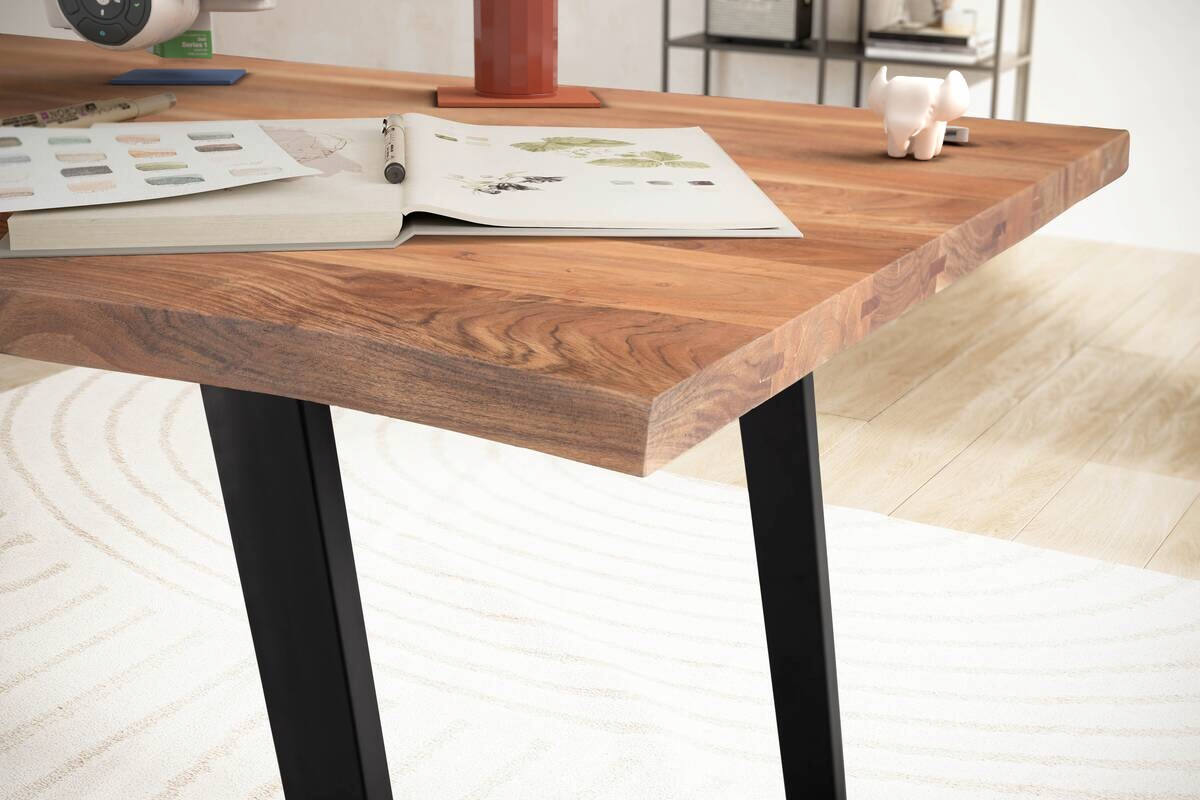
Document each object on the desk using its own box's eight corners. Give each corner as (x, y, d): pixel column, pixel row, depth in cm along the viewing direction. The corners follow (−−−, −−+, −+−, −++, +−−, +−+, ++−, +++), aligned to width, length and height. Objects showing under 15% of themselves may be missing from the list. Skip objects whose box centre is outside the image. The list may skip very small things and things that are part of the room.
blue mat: (110, 84, 120) (110, 79, 120) (135, 72, 130) (135, 68, 130) (230, 84, 122) (230, 80, 121) (246, 73, 132) (245, 69, 132)
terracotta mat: (438, 106, 109) (437, 102, 108) (437, 91, 120) (437, 86, 120) (601, 107, 110) (601, 102, 110) (585, 91, 122) (585, 87, 121)
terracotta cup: (476, 103, 111) (474, -5, 108) (473, 93, 118) (471, -8, 115) (560, 104, 112) (561, -4, 109) (553, 94, 119) (553, -7, 116)
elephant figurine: (846, 160, 85) (853, 69, 83) (879, 145, 92) (887, 60, 90) (947, 170, 83) (957, 75, 81) (974, 153, 89) (984, 66, 87)
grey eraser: (899, 139, 98) (900, 123, 97) (925, 137, 99) (926, 122, 98) (951, 143, 92) (951, 127, 92) (977, 142, 93) (978, 126, 93)
